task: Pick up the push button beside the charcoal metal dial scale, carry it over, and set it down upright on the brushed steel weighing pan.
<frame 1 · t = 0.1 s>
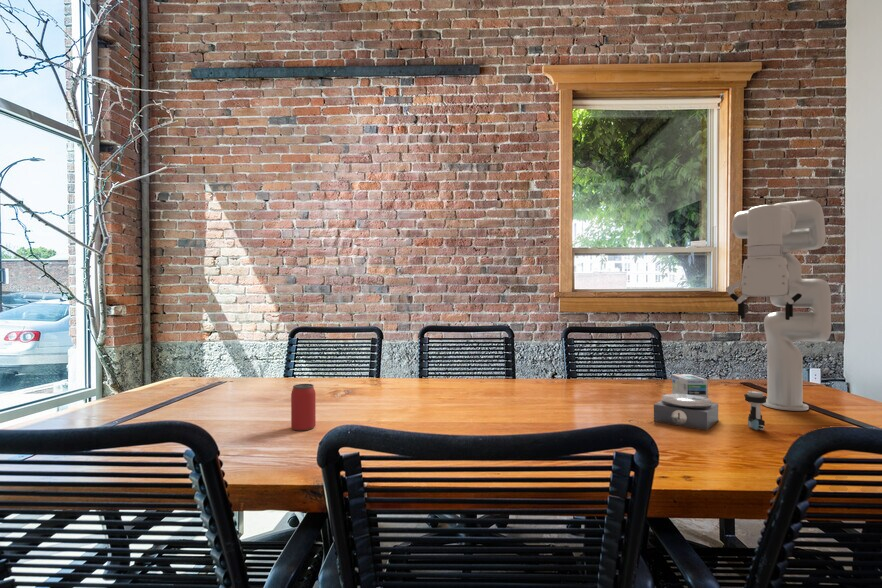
hand: (764, 319, 122), 31 cm above the table, tool pointing down, fingers open, 9 cm apart
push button: (756, 429, 131), on the table
light bulb box: (689, 409, 153), on the table
scale: (686, 420, 139), on the table
scale pan: (686, 400, 139), point 6 cm above the table, slide at 0.0 cm
beer can: (303, 428, 132), on the table
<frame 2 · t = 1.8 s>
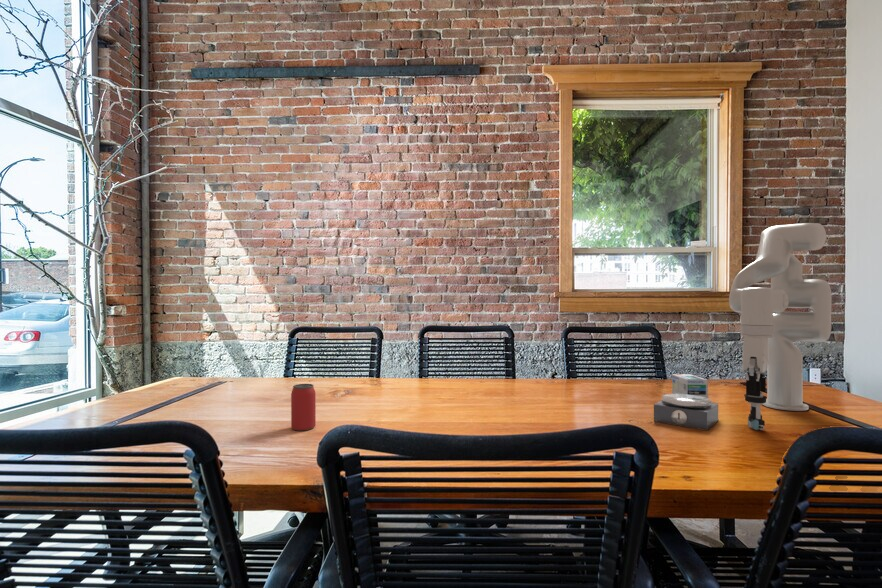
hand: (756, 393, 131), 10 cm above the table, tool pointing down, fingers open, 9 cm apart
nothing on the table moved.
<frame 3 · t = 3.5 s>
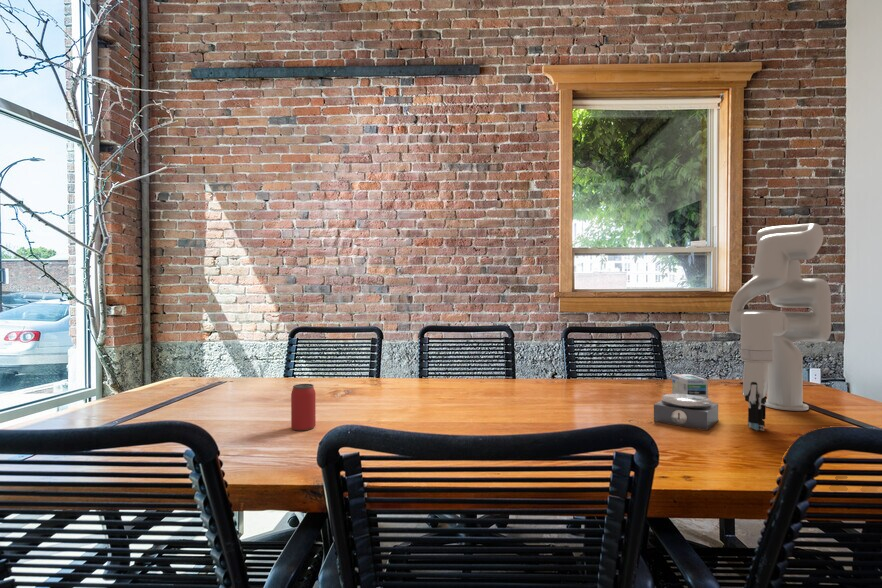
hand: (756, 420, 131), 2 cm above the table, tool pointing down, fingers closed on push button, 5 cm apart
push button: (756, 429, 131), on the table, touching gripper
everything else where it was.
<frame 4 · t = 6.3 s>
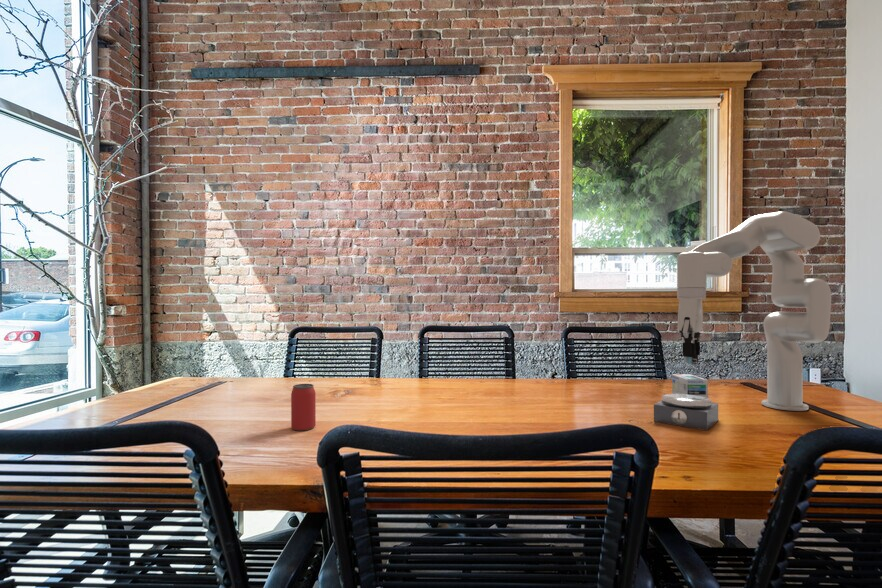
hand: (691, 355, 139), 20 cm above the table, tool pointing down, fingers closed on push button, 5 cm apart
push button: (691, 363, 138), point 17 cm above the table, touching gripper
everything else where it was.
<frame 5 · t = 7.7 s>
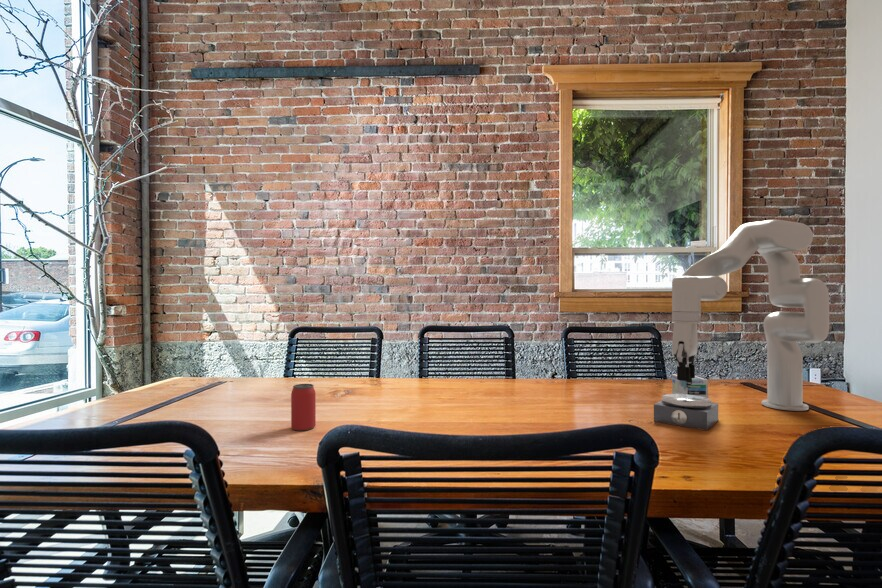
hand: (686, 378, 139), 13 cm above the table, tool pointing down, fingers closed on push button, 5 cm apart
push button: (685, 387, 139), point 10 cm above the table, touching gripper
everything else where it was.
when the fingers open (10 cm above the table, at t = 8.9 s): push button drops 2 cm, resting on scale pan.
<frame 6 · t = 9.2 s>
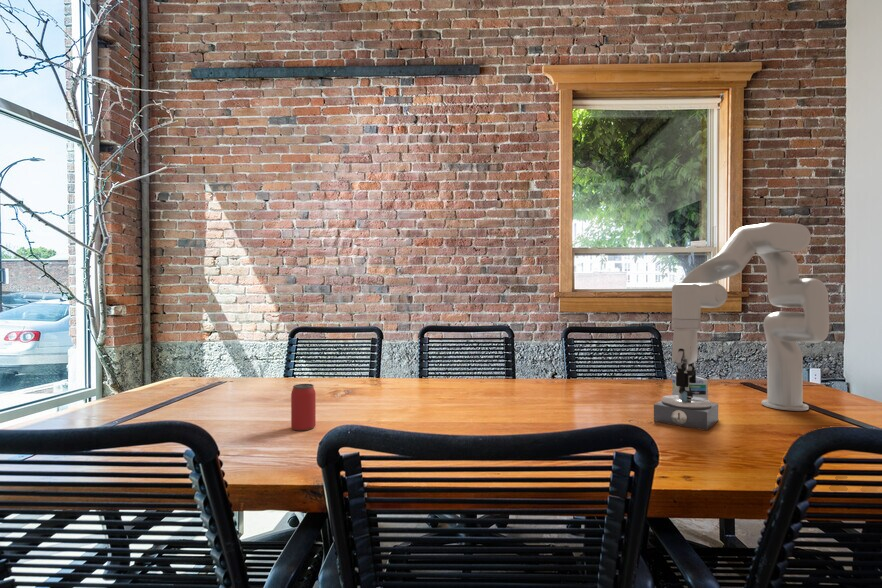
hand: (686, 384, 139), 11 cm above the table, tool pointing down, fingers open, 7 cm apart
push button: (686, 400, 139), point 6 cm above the table, touching scale pan
scale pan: (686, 401, 139), point 6 cm above the table, slide at 0.4 cm, touching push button
everything else where it was.
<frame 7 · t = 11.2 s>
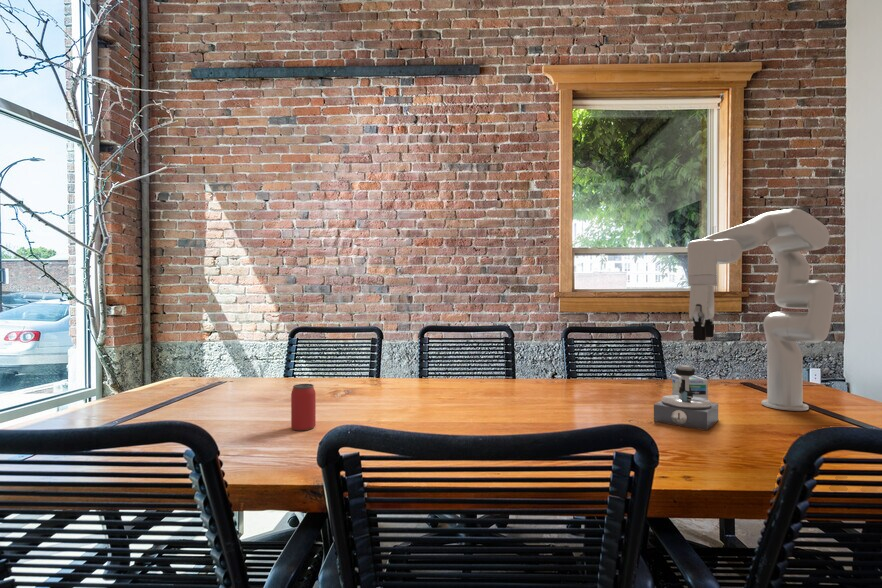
hand: (703, 338, 140), 24 cm above the table, tool pointing down, fingers open, 9 cm apart
scale pan: (686, 401, 139), point 6 cm above the table, slide at 0.4 cm, touching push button, scale
everything else where it was.
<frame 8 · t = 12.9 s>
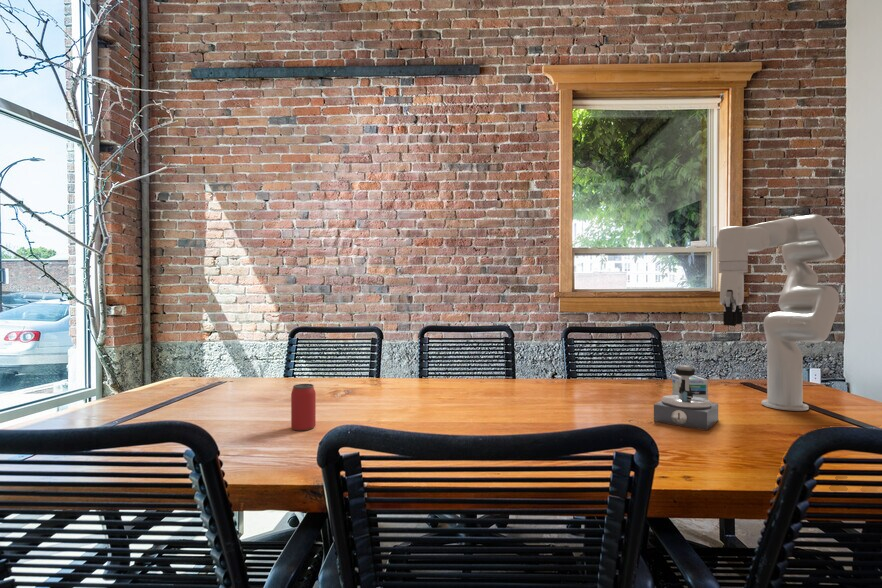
hand: (733, 324, 142), 28 cm above the table, tool pointing down, fingers open, 9 cm apart
nothing on the table moved.
at the end: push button inside the target area on the scale (0.6 cm from its centre), point 6.0 cm above the scale's base; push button tilted 0°; the gripper is holding nothing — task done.
